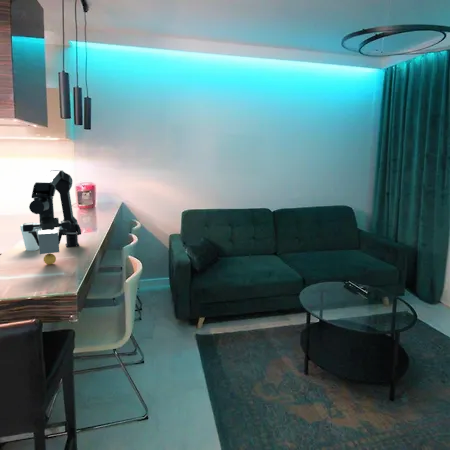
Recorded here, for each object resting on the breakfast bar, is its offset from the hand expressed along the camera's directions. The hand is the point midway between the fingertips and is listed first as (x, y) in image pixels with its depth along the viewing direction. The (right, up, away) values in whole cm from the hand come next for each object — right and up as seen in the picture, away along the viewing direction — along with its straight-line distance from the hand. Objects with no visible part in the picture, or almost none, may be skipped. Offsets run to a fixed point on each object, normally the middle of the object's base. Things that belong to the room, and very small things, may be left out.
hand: (48, 244), depth 152 cm
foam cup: (-22, -4, +26) cm, 35 cm away
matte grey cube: (0, -3, +1) cm, 3 cm away
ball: (-1, -7, +2) cm, 7 cm away
